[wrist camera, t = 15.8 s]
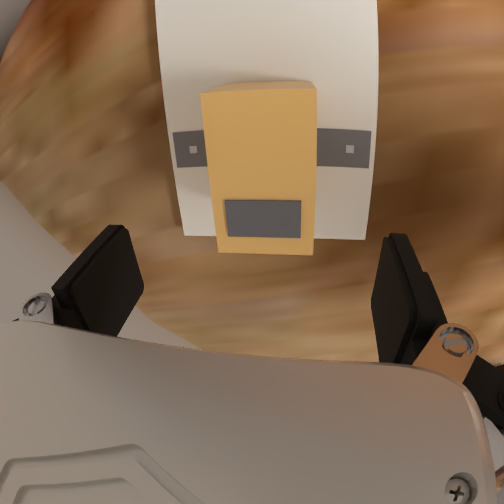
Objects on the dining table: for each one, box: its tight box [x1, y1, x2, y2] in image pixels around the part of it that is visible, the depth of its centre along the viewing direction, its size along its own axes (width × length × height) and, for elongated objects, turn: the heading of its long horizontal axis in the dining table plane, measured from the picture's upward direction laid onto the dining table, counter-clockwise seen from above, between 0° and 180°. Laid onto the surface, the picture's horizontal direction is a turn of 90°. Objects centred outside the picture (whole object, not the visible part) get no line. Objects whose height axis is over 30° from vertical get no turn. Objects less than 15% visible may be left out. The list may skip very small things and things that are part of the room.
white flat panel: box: [155, 0, 378, 240], centre depth 21 cm, size 16×28×1 cm, turn 3°
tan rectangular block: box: [200, 81, 317, 255], centre depth 21 cm, size 6×10×7 cm, turn 3°
